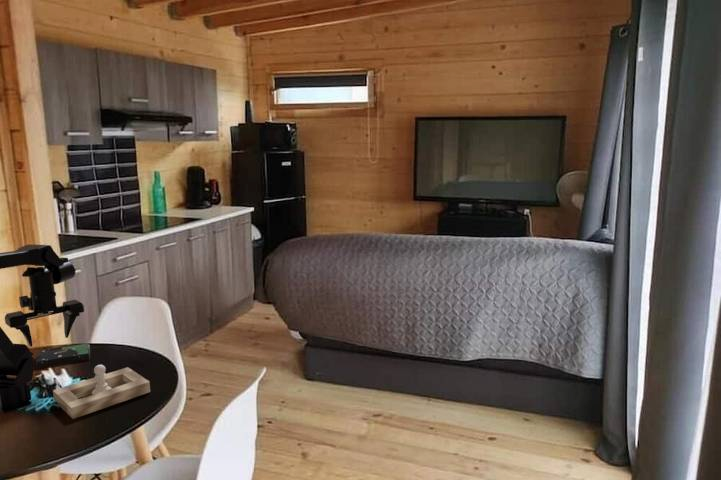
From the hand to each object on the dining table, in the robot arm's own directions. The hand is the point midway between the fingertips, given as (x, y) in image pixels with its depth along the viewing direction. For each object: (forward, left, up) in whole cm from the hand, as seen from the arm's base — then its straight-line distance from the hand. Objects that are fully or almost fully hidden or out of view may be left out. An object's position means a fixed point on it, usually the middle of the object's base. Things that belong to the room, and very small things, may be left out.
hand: (49, 341), depth 155 cm
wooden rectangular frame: (+6, -20, -12) cm, 24 cm away
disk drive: (+8, +16, -13) cm, 22 cm away
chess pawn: (+6, -20, -12) cm, 24 cm away
